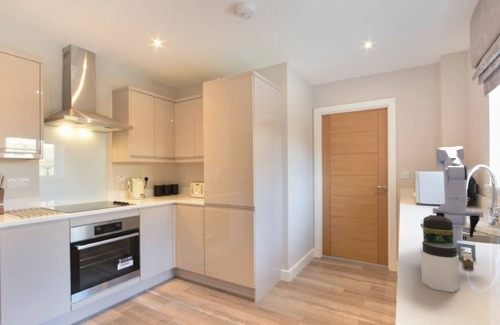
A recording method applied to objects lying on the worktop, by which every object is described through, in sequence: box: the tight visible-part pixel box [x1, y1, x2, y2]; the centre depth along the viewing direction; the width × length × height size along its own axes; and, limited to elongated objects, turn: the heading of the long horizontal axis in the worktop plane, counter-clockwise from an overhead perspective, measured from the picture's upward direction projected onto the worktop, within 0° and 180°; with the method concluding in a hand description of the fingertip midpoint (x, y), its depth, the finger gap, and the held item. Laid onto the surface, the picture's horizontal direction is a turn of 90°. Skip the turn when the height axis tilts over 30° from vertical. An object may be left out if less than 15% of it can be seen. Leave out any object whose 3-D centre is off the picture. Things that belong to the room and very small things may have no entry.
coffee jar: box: [422, 214, 453, 244], centre depth 84 cm, size 10×8×19 cm
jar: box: [420, 240, 461, 294], centre depth 75 cm, size 9×8×12 cm
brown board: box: [461, 251, 475, 270], centre depth 92 cm, size 12×2×3 cm, turn 143°
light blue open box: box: [457, 240, 476, 261], centre depth 100 cm, size 5×5×6 cm
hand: (457, 235), depth 95 cm, fingers open, 7 cm apart
